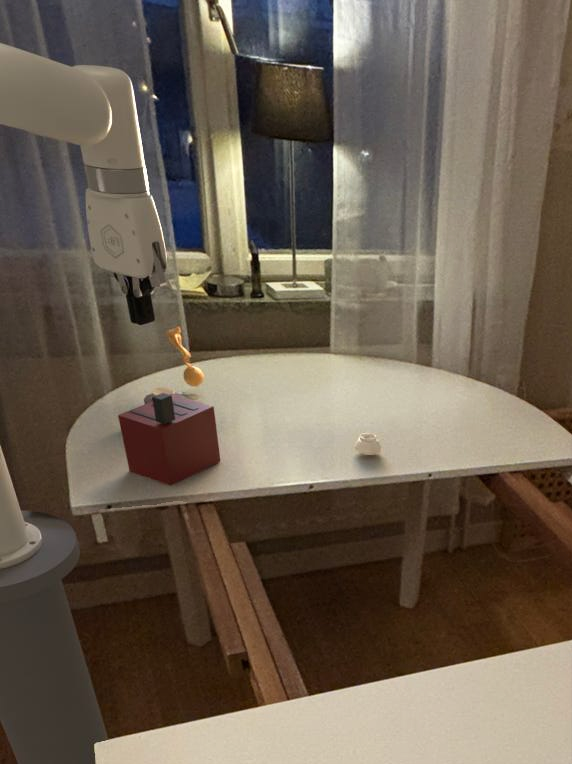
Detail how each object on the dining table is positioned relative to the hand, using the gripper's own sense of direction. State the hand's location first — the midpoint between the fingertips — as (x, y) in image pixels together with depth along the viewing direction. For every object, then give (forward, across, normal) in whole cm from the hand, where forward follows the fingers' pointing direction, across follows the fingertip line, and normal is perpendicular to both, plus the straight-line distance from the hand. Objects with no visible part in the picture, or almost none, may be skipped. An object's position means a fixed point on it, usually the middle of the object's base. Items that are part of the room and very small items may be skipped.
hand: (143, 321), depth 114 cm
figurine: (+25, -24, +31) cm, 47 cm away
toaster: (+25, -1, +2) cm, 25 cm away
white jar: (+25, +22, +28) cm, 43 cm away
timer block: (+25, -16, +16) cm, 34 cm away
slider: (+15, +2, -1) cm, 15 cm away
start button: (+21, -16, +16) cm, 31 cm away
